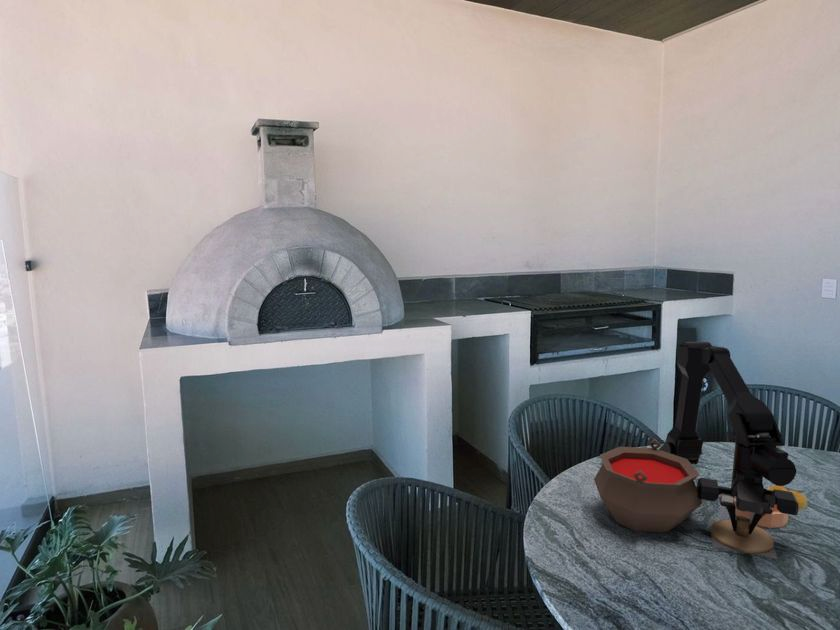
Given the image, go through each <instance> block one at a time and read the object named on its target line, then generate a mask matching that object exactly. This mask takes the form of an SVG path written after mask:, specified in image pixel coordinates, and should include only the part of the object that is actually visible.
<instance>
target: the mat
mask: <svg viewBox="0 0 840 630" xmlns="http://www.w3.org/2000/svg"><path fill="white" fill-rule="evenodd" d="M708 521H709V528H710V530H709V531H711V526H712V524H713V523H714V522H716V521H717V520H714V519H709V520H708ZM762 529H763V528H762ZM763 530H765V531H766V532H768V533H769V534H770V535H771V533H770V530H769V529H763ZM710 537H711V544H712V547H714V548H719V549H724V550H729V551H733V552H738V553H739V552H740V553H742V552H741V551H737V550H734V549H731V548H729V547H727V546H725V545H723V544H721V543H720V542H718V541H717V540H716V539H715V538H714V537H713V536H712V534H711V533H710ZM743 553H744V554H747V553H746V552H743ZM748 554H750V555H754V556H758V557H759V556H761V557H764V558H765V557H766V558H770V559H773V560H774V559H777V560H778V555H777V552H776V549H775V546H774V545H773V548H772V550H771V551H769V552H766V553H759V554H755V553H748Z"/></svg>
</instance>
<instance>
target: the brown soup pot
mask: <svg viewBox="0 0 840 630" xmlns="http://www.w3.org/2000/svg"><path fill="white" fill-rule="evenodd" d="M654 443H655V444H656V445H654ZM647 444H648V445H649V446H650V447H635V446H617V447H616V448H613V449H610V450H609V451H606V452H604V453H601V454H599V456H600V460H601V462H602V465H601V466H600V468H599V470H598V471H597V473H596V475H595V477H594V478H593V480H594V483H595V484H594V485H595V486H596V489H597V491H598V494H599V498H601V501H602V502H603V503H604V505H605V506H606V508H607V509H608V511H609V512H610V514H611V515H612V517H613V518H614V520H615V522H616V523H617V524H619V525H621V526H623V527H625V528H628V529H629V530H631V531H634V532H636V533H639V532H648V533H649V532H652V533H653V532H654V533H668V532H669V531H671V530H672V529H674V528H676V527H678V526H679V525H681V523H682V522H684V521H685V520H686V518H688V517H689V516H690V515H691V514H692V513H693V512H694V511H696V510H697V509H699V507H700V506H701V505H702V504H703V500H702V499H699V498H698V494H697V484H696V483H695V481H694V480H696V478H698V477H699V476H700V473H699V472H698V471H697V469H696V467H694V465H693V464H691V463H690V462H689V461H688V459H685V458H682V457H679V456H676V455H673V454H670V453H667V452H664V451H661V450H659V449H660V448H661V447H662V445H661V443H660V442H659V441H658V440H657V439H656V438H654V439H652V440H651V441H649V442H648V443H647ZM658 448H659V449H658Z"/></svg>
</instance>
